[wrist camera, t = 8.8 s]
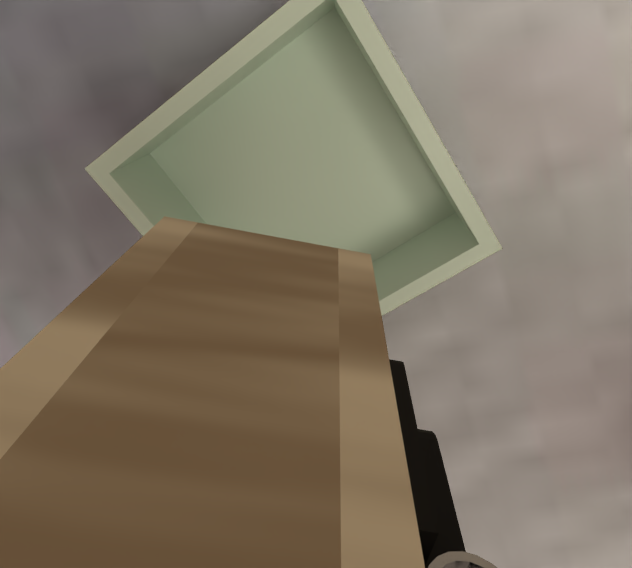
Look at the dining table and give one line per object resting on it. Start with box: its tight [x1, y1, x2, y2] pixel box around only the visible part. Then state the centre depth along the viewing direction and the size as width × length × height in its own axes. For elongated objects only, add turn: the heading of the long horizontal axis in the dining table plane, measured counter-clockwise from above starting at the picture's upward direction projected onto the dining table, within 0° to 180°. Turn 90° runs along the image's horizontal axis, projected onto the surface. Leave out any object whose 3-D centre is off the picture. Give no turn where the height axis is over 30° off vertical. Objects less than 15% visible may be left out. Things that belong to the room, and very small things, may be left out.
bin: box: [85, 0, 502, 316], centre depth 25 cm, size 14×14×6 cm
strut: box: [0, 216, 425, 568], centre depth 8 cm, size 5×5×11 cm
